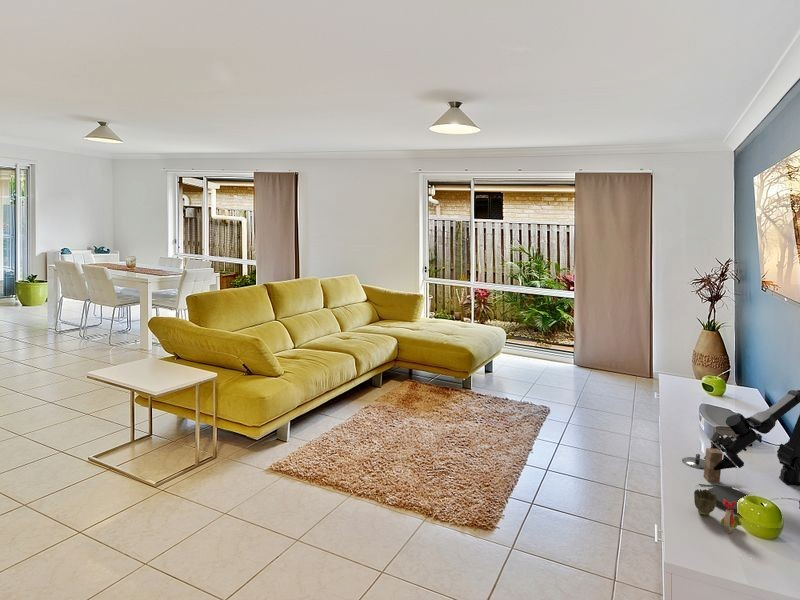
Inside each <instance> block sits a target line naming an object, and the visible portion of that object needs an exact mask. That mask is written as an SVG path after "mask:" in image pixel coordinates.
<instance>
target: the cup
mask: <svg viewBox="0 0 800 600" xmlns="http://www.w3.org/2000/svg"><path fill="white" fill-rule="evenodd" d="M707 490H708V489H701V488H700V489H695V490H694V492H693V497H694V498H693V499H694V505H695V508H696V509H697V512H698V514H699V515H701V516H703V517H708V516H710V513H712V512H713V511H714V510H715V508H716V507H717V506H716V502H717V498H718V496H716V494H714V495H713V494H711V491H709V492H708V491H707Z"/></svg>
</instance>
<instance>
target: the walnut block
mask: <svg viewBox="0 0 800 600" xmlns="http://www.w3.org/2000/svg"><path fill="white" fill-rule="evenodd" d="M723 453H724V452H722V451H721V450H719V449H712V448H711V447H710V448H709V447H707V448H706V450H705V456H706V457H705V456H704V457H705V459H704V460H705V467H704V470H703V478H704V479H705V480H706V481H707V482H708V483H717V484H718V483H720V480H721V473H722V469H721V470H714V469H713V468H714V467H715V466H716V465H717V464H718V463H719V462H720V461H721V460H723V456H724V454H723Z"/></svg>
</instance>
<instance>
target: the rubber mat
mask: <svg viewBox="0 0 800 600" xmlns="http://www.w3.org/2000/svg"><path fill="white" fill-rule="evenodd" d="M698 485H699V487H701V488H703V487H704V488H714V487H728V488H733V487H732V486H729V485H727V486H726V485H713V484H701V483H698Z"/></svg>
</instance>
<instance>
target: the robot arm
mask: <svg viewBox="0 0 800 600" xmlns="http://www.w3.org/2000/svg"><path fill="white" fill-rule="evenodd" d="M798 404H800V389H797V390H796V389H795V390H792V389H791V390H789V391H787V394H786V395H784V396H783V397H781V398H780V399H779V400H777V402H775V403H774V404H772V405H771V406H770V407H768V408H767V409H766V410H764V411H759V412H757V413H755V414H753V415H751V416H749V417H745V416H744V415H743V414H741V413H739V412H738V413H736V414H732V415H729V416H728V417H726V419H725V425H726V426H727V427H728V428H729V429H730V430H731V431H732V432H733V433H734V434H735V435H733V434H730V435H729V436H728V435H727V434H724V433H722V432H720V431H718V430H715V432H714V433H713V434H712V436H711V438H710V448H712V449H719V450H720V451H721V452H722V453H724V454H723V455H722V460H721V461H720V462H719V463H718V464H717V465H716V466H715V467H714V468H713V469H714V470H721V471H722V470H725V469H734V468H735V469H737V468H738V469H741V468H743V467H744V466H745V462H744V461H743V460H742V459H741V458H740V457H739V453H741V452H742V451H744V452H746V451H747V447H749V446H751V445H752V444H753V443H754V442H756V441H757V442H759V443H760V444H761V443H762V442H763V441H762V440H763V439H762V438H763V435H762V434H764V435H766V434H768V433H770V432H771V431H772V430H773V429H774V428H775V426H776V424H777V421H778V420H780V418H782V417H783V416H784V415H785V414H787V413H788V412H789V411H791V410H792V409H793V408H795V407H797V405H798ZM756 431H757V432H758V433H757V432H756ZM776 453H777V454H776V456H777V458H778V461H779V464H780V465H782V468H781V469H780V475H778V478H779V479H780V480H781V481H782V482H783V483H784V484H786V485H789V486H800V414H799V415H798V418H797V420H796V423H795V424H794V427H793V429H792V432H791V433H790V437H789V439H788V441H787V442H785V443H780V444H779V448H778V449H777V451H776ZM705 457H706V455H705V456H704V458H703V460H705Z"/></svg>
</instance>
